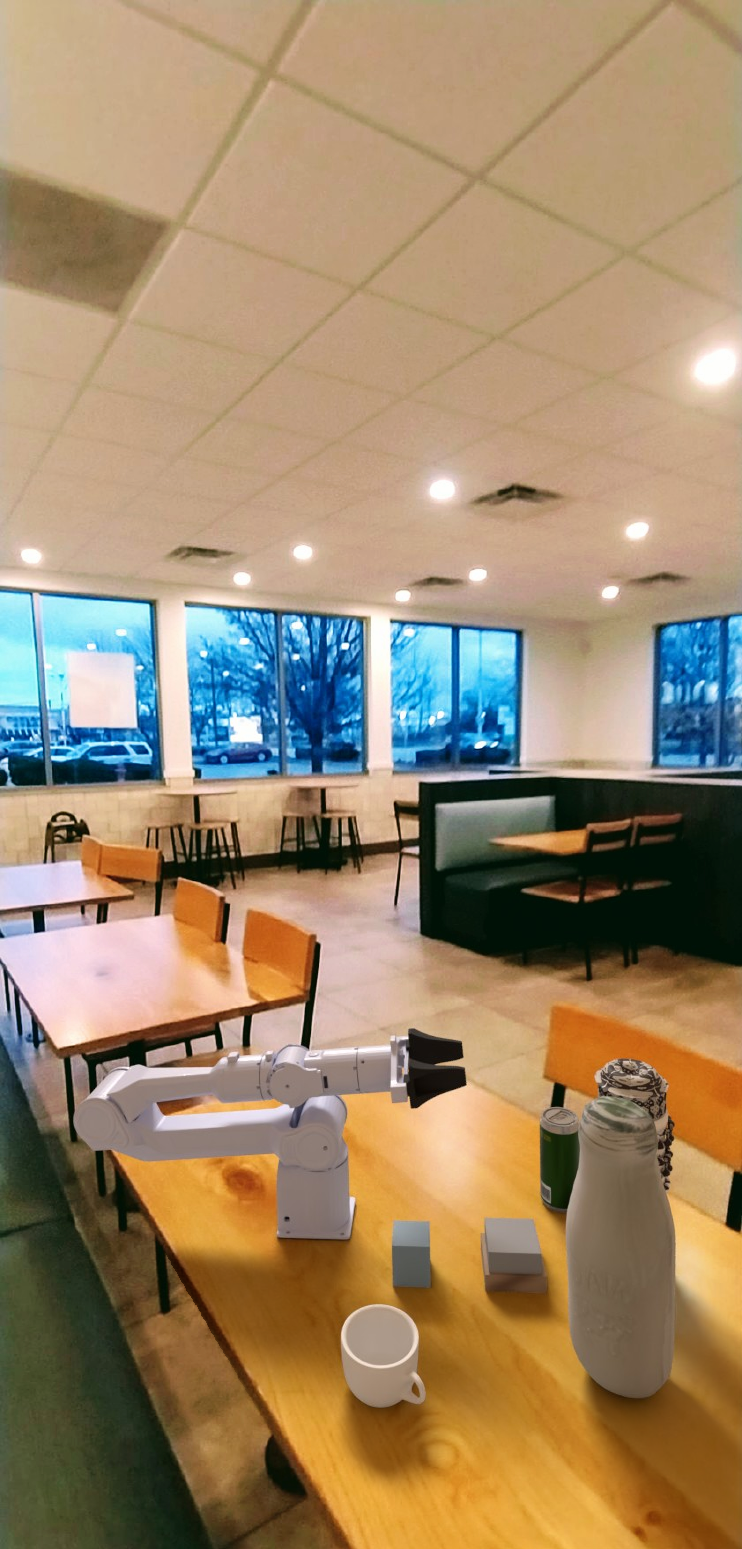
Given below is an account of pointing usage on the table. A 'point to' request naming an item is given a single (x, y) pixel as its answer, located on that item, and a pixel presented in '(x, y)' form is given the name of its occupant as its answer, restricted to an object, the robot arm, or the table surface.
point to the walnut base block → (512, 1278)
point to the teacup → (381, 1356)
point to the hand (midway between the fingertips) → (464, 1062)
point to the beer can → (558, 1156)
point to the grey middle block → (512, 1246)
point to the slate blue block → (411, 1253)
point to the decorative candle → (642, 1101)
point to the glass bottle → (621, 1252)
